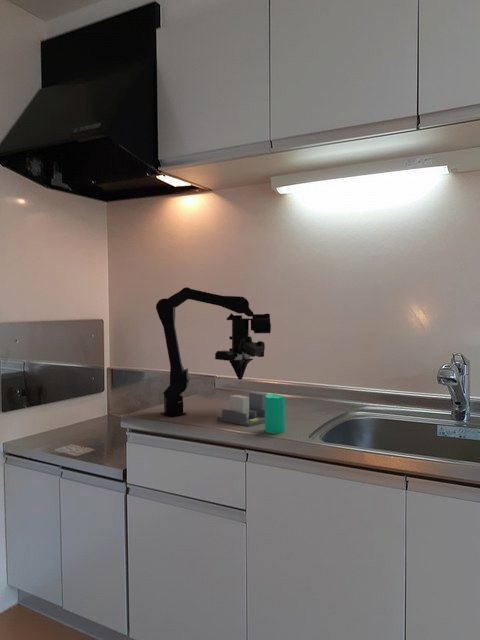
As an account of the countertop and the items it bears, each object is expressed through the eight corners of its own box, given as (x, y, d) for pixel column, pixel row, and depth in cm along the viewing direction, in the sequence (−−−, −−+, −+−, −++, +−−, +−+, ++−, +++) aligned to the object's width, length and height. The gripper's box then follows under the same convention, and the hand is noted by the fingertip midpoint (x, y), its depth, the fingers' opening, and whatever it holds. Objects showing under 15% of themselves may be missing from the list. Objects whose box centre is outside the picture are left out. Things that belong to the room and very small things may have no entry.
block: (229, 417, 160) (229, 395, 160) (235, 416, 162) (235, 394, 162) (242, 420, 156) (243, 398, 156) (249, 419, 158) (249, 397, 158)
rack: (217, 419, 162) (217, 394, 162) (248, 412, 173) (249, 389, 172) (249, 426, 152) (249, 400, 152) (280, 418, 163) (280, 394, 163)
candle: (262, 429, 149) (262, 389, 149) (281, 428, 151) (281, 388, 150) (267, 434, 143) (268, 392, 143) (287, 432, 145) (288, 391, 144)
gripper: (238, 335, 156) (238, 385, 157) (276, 333, 170) (276, 378, 170) (214, 334, 164) (213, 381, 165) (252, 332, 178) (252, 375, 178)
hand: (240, 379), depth 169 cm, fingers closed
